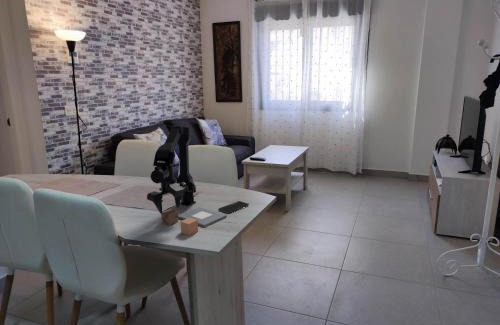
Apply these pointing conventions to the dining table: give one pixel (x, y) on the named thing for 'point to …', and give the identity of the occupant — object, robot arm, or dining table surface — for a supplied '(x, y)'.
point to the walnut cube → (169, 216)
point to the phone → (233, 207)
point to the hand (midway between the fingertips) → (169, 210)
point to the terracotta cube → (189, 226)
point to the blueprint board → (203, 216)
